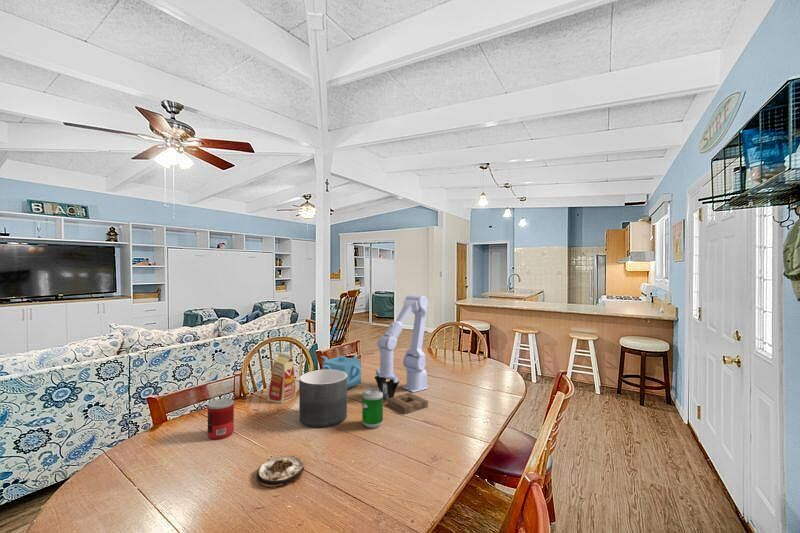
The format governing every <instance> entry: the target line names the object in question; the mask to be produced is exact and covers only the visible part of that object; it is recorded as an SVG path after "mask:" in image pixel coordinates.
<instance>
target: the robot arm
mask: <svg viewBox="0 0 800 533" xmlns="http://www.w3.org/2000/svg"><path fill="white" fill-rule="evenodd" d="M428 307H429V300H428V298H427V297H426V296H425V295H414V294H407V295H406V296H405V299H404V300H403V306H402V308H401V309H400V312H399V313H398V316H397V318H396V320H393V321H391V323H390V324H389V327H387V329H386V331H385V332H384V334H382V335H381V336H380V337H379V338H378V340H377V341H378V342H377V343H376V344H377V347H378V349H379V353H380V354H379V355H380V356H379V357H380V358H379V361H380V362H379V366H380V367H379V368H380V369H375V376H374V379H375V381H376V384H377V389H378V390H380V391H381V392H382V393H383V382H386V384H387V387H388V394H389V398H391V397H395V394H396V390H397V387H398V385H399V383H400V380H399V377H398V376H397V375H396V374H395V373H394V349H395V348H397V341H398V338H399V336H400V335H401V332H402V331H403V330H404V327H403V326H404V323H405V322H406V321H407V319H408V317H409V316H410V315H411V313H413V314H414V320H413V327H412V335H411V341H410V347H409V349H407V350H406V351H405V355H404V357H403V361H402V363H403V366H404V367H405V370H406V385H405V386H402V388H403V389H405V390H407V391H409V392H410V393H416V392H420V391H423V390H427V389H429V386H428V373H427V370H426V369H425V368H426V366H427V362H426V356H427V355H426V353H425V352H424V351H423V350H422V349H423V343H424V336H425V328H426V322H427V321H426V320H427V314H428ZM387 379H388V381H387Z"/></svg>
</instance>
